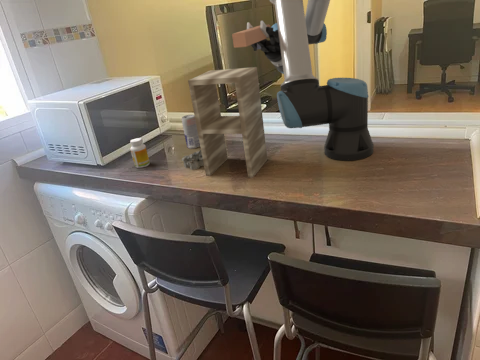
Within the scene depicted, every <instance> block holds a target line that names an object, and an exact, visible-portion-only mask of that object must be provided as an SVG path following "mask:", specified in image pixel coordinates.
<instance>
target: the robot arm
mask: <svg viewBox="0 0 480 360" xmlns="http://www.w3.org/2000/svg"><path fill="white" fill-rule="evenodd" d="M268 1H269V2H270V3H271V4H272V5H274V9H275V17H276V22H275V23H274V24H273V25H272V26H270V27H267V25H268V24H266V23H265V22H264V20H260V24H259V26H260V29H261V31H262V32H263V33H264V35H265V36H266V37H269V38H266V39H264V40H261V41H259V42H256V43H254V44H252V45H250V46H251V47H252V48H253V51H255V52H257V50H260V51H262V52H263V53H264V56H265V57H266V58H267V59H268V60H269V62H270V63H271V64H272V65H273V66H274V67H275V69H276V70H277V71H278V72H280V73H281V74H282V75H283V77H284V80H283V82H282V83H281V84H280V90H279V91H278V92H277V93H276V99H277V105H278V109H279V113H280V117H281V120H282V122H283V124H284V126H285V127H286V128H287V129H302V128H306V127H307V128H308V127H313V126H321V125H328V133H327V137H326V140H325V143H324V149H323V150H324V152H323V153H324V155H325V156H326V157H328V158H330V159H332V160H336V161H345V162H346V161H357V160H362V159H365V158H368V157H369V156H371V155H372V154H374V142H373V139H372V136H371V134H370V131H369V125H368V121H369V119H368V114H369V110H368V108H369V107H368V106H369V104H368V103H369V101H368V99H369V91H368V84H367V83H366V81H364V80H363V79H359V78H355V77H333V78H328V80H327V82H326V84H325V85H320V82H319V78H317V77H316V76H315V75H314V74H313V67H312V60H311V52H310V46H309V45H318V44H320V43H324V42H326V40H327V34H328V31H327V26H326V23H325V20H326V17H327V13H328V10H329V7H330V2H331V0H307V5H306V9H305V6H304V1H303V0H268ZM253 27H254V25H252V24H251V22H249V21H248V22H247V23H246V29H250V28H253Z"/></svg>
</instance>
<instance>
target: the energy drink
mask: <svg viewBox="0 0 480 360" xmlns="http://www.w3.org/2000/svg"><path fill="white" fill-rule="evenodd" d="M181 123H182V129H183V133H184V138H185V143H186V147H187V148H188V149H190V150H191V149H193V150H194V149H197V148H200V142H199V137H198V131H197V126H196V121H195V115H194V114H186V115H184V116H181Z"/></svg>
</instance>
